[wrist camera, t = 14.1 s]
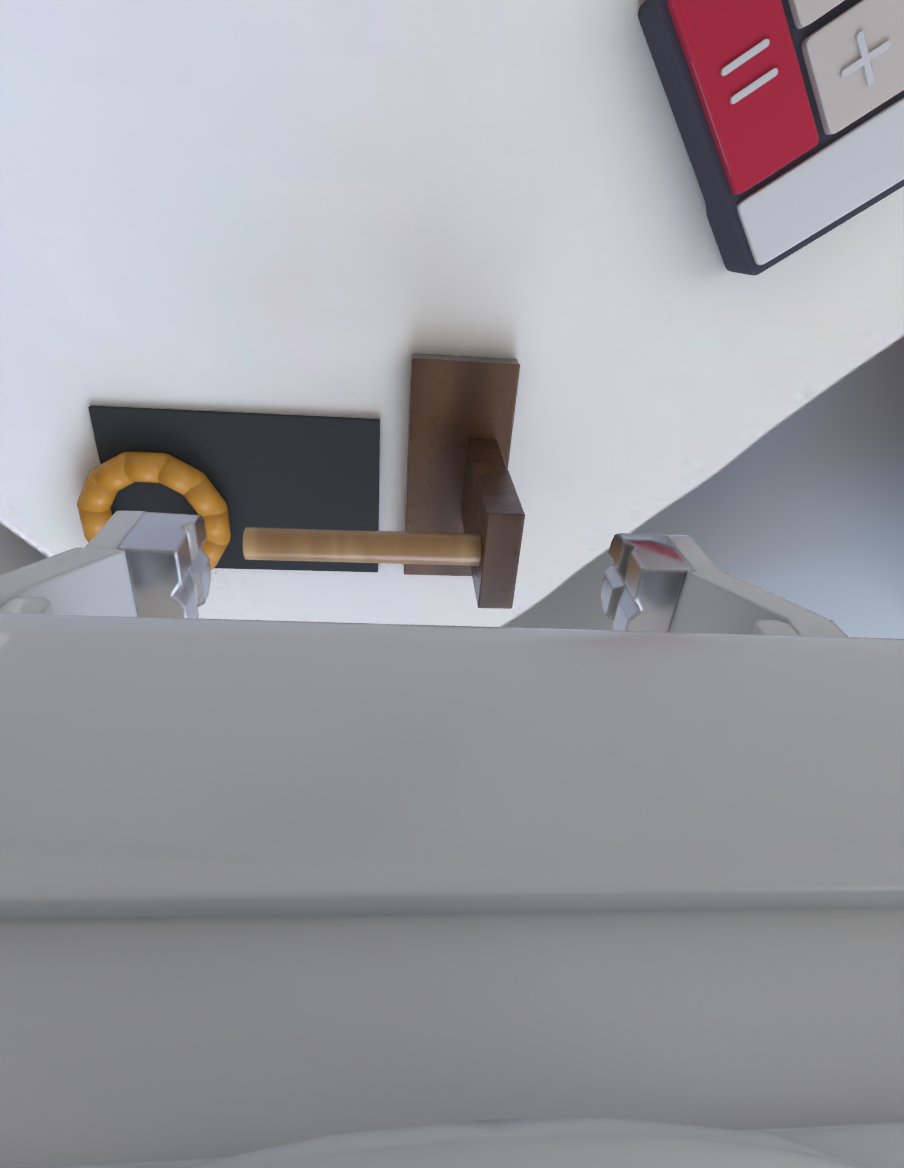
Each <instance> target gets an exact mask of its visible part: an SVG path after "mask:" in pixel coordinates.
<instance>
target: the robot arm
mask: <svg viewBox="0 0 904 1168" xmlns="http://www.w3.org/2000/svg"><path fill="white" fill-rule="evenodd" d="M206 538H207V536H206V529H205V522H204V520H203V518H202V516H201V515H189V514H173V513H156V512H146V511H116V512H115V513H114V514H113V515H112V517H111V518H110V519H109V520H108V521H107V523H106V524H105V525H104V526H103V527H102V528H101V530H100V531H99V532H98V533H97V534H96V535H95V537H94V538H93V539H92V540H91V541H90V542H89V544H88V545H87V546H86V547H85V548H74V549H71V550H68V551H66V552H63V553H60V554H57V555H55V556H52V557H49V558H46V559H44V560H41V561H38V562H35V563H33V564H30V565H27V566H24V567H22V568H19V569H16V570H14V571H11V572H8V573H5V574H2V575H0V1168H904V639H889V638H856V637H848V636H847V635H846V634H845V633H844V632H843V631H842V630H841V629H840V628H839V627H838V626H837V625H836V624H835V623H834V622H833V621H832V620H829V619H827V618H825V617H823V616H821V615H818V614H816V613H814V612H812V611H810V610H808V609H805V608H803V607H801V606H799V605H797V604H794V603H792V602H790V601H788V600H786V599H784V598H781V597H779V596H777V595H775V594H773V593H771V592H768V591H766V590H764V589H762V588H760V587H757V586H755V585H753V584H751V583H748V582H747V581H744V580H742V579H740V578H738V577H736V576H734V575H731V574H729V573H724V572H719V570H718V569H717V568H716V567H715V565H714V564H713V563H712V562H711V561H710V559H709V558H708V557H707V556H706V555H705V553H704V552H703V551H702V550H701V548H700V547H699V546H698V545H697V544H696V543H695V541H694V540H693V539H692V537H691V536H687V535H666V534H626V533H620V534H616V535H615V536H614V538H613V540H612V542H611V546H610V550H609V555H610V557H611V559H612V561H613V563H614V564H612V565H611V566H610V567H609V568H608V569H607V570H606V571H605V572H604V576H603V581H602V586H601V601H602V607H603V610H604V612H605V614H606V616H607V617H609V618H611V619H612V620H614V623H613V628H612V629H613V631H610V630H575V629H541V628H539V629H538V628H505V627H471V626H436V625H401V624H366V623H332V622H297V621H262V620H227V619H198V617H199V615H198V607H199V606H201V605H203V604H204V603H205V601H206V599H207V597H208V594H209V587H210V581H211V571H210V560H209V557H208V556H207V555H206V553H205V552H204V551H203V550H202V549H201V547H202V545H203V543H204V542H205V540H206Z"/></svg>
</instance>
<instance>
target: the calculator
mask: <svg viewBox="0 0 904 1168" xmlns="http://www.w3.org/2000/svg"><path fill="white" fill-rule="evenodd" d="M638 17H639V21H640V24H641V27H642V29H643V32H644V35H645V37H646V40H647V43H648V46H649V48H650V51H651V54H652V57H653V59H654V62H655V65H656V68H657V70H658V73H659V76H660V79H661V81H662V84H663V87H664V90H665V92H666V95H667V98H668V100H669V103H670V106H671V109H672V111H673V114H674V117H675V120H676V122H677V125H678V128H679V131H680V133H681V136H682V139H683V142H684V144H685V147H686V150H687V152H688V155H689V158H690V161H691V163H692V166H693V169H694V172H695V174H696V177H697V180H698V183H699V185H700V188H701V191H702V194H703V196H704V199H705V202H706V209H707V217H708V220H709V223H710V226H711V228H712V231H713V234H714V236H715V239H716V242H717V245H718V247H719V250H720V253H721V256H722V258H723V261H724V264H725V266H726V268H727V270H729V271H732V272H737V273H743V274H748V275H757V274H759V273H761V272H763V271H765V270H766V269H768V268H770V267H771V266H773V265H775V264H776V263H778V262H779V261H781V260H783V259H784V258H786V257H788V256H789V255H791V254H793V253H794V252H796V251H798V250H799V249H801V248H802V247H804V246H806V245H807V244H809V243H811V242H812V241H814V240H816V239H817V238H819V237H821V236H822V235H824V234H826V233H827V232H829V231H830V230H832V229H834V228H835V227H837V226H839V225H840V224H842V223H844V222H845V221H847V220H849V219H850V218H852V217H854V216H855V215H857V214H858V213H860V212H862V211H863V210H865V209H867V208H868V207H870V206H872V205H873V204H875V203H877V202H878V201H880V200H881V199H883V198H885V197H886V196H888V195H890V194H891V193H893V192H895V191H896V190H898V189H900V188H901V187H903V186H904V0H646V1H645V2H644V3H643V4H642V5H641V7H640V9H639V12H638Z"/></svg>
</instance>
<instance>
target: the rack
mask: <svg viewBox="0 0 904 1168" xmlns="http://www.w3.org/2000/svg"><path fill="white" fill-rule="evenodd" d="M519 369H520V364H519V363H518V361H517V360H516V359H502V358H484V357H466V356H449V355H431V354H412V355H411V380H410V407H409V434H408V462H407V489H406V516H405V532H395V531H363V530H331V529H299V528H267V527H246V528H245V530H244V533H243V554H244V558H245V559H246V560H281V561H319V562H356V563H394V564H404V574H411V575H451V576H472V577H473V583H474V588H475V594H476V599H477V605H478V608H512V605H513V598H514V590H515V583H516V576H517V569H518V562H519V555H520V547H521V540H522V533H523V526H524V519H525V514H524V511H523V509H522V506H521V503H520V501H519V498H518V495H517V493H516V490H515V487H514V485H513V482H512V479H511V477H510V474H509V471H508V461H509V453H510V445H511V436H512V428H513V420H514V411H515V403H516V395H517V386H518V378H519Z"/></svg>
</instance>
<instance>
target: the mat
mask: <svg viewBox="0 0 904 1168" xmlns="http://www.w3.org/2000/svg"><path fill="white" fill-rule="evenodd" d="M89 412H90V417H91V422H92V426H93V431H94V436H95V440H96V445H97V449H98V454H99V459H100V463H101V464H102V463H104V462H106V461H108V460H110V459H112V458H113V457H115V456H117V455H119V454H121V453H123V452H152V453H166V454H169V455H171V456H173V457H175V458H177V459H179V460H181V461H182V462H184V463H186V464H188V465H190V466H192V467H194V468H196V469H198V470H199V471H201V472H203V473H204V474H205V475H206V476H207V478H208V479H209V480H210V482H211V483H212V484H213V486H214V487H215V489H216V490H217V491H218V493H219V494H220V495H221V497H222V498H223V499H224V501H225V502H226V504H227V508H228V516H229V525H230V533H231V538H230V542H229V544H228V545H227V547H226V549H225V551H224V553H223V554H222V556H221V558H220V560H219V561H218V563H217V565H216V566H215V567H214V568H233V569H272V570H312V571H352V572H378V563H356V562H319V561H281V560H246V559H245V558H244V554H243V533H244V530H245V528H246V527H267V528H299V529H331V530H363V531H378V519H379V444H380V419H363V418H342V417H321V416H299V415H278V414H257V413H235V412H214V411H193V410H171V409H150V408H129V407H107V406H90V407H89ZM111 511H112V515H113V514H114V513H115V512H116V511H146V512H156V513H173V514H189V515H198V513H197V512H196V511H195V509H194V508H193V507H192V505H191V504H190V503H189V502H188V500H187V499H186V498H185V497H184V495H182V494H181V493H179V492H177V491H175V490H173V489H171V488H169V487H167V486H165V485H163V484H161V483H153V482H134V483H132V484H130V485H128V486H126V487H125V488H123V489H121V490H119V491H118V492H117V494H116V496H115V499H114V501H113V503H112V505H111Z"/></svg>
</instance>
